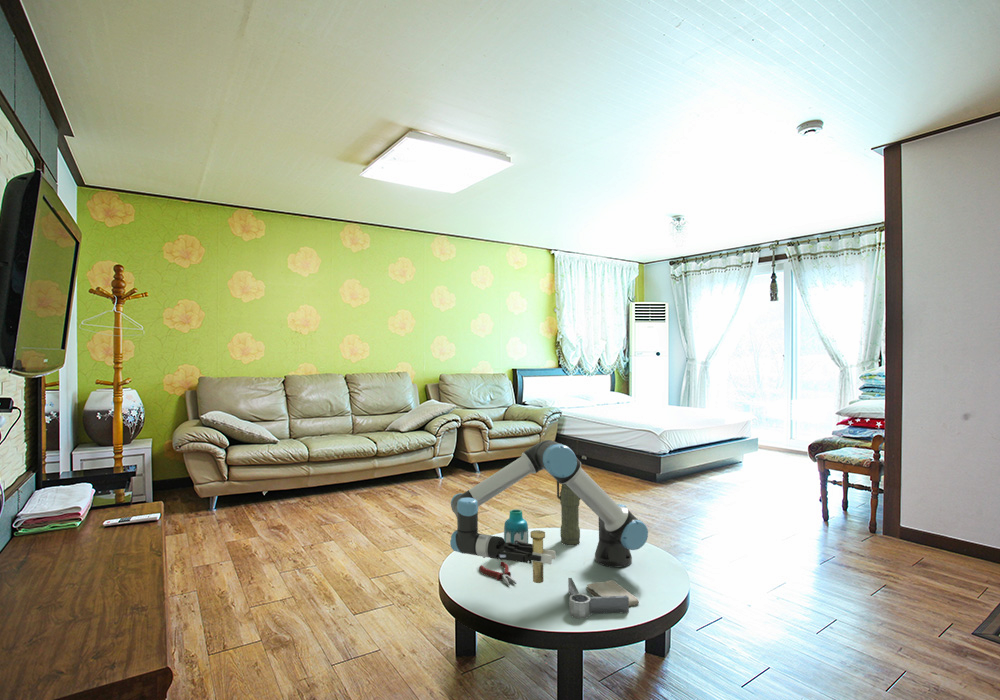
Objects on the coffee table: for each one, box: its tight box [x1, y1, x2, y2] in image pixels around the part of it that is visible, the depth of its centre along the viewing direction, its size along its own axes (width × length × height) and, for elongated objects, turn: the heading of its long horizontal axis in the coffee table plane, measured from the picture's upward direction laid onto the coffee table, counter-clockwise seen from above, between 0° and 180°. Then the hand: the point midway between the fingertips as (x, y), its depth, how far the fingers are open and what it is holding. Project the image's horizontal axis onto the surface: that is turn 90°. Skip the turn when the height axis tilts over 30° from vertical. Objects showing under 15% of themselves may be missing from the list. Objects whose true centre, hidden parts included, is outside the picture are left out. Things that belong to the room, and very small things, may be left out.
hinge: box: [567, 577, 630, 620], centre depth 178 cm, size 20×20×5 cm
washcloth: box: [586, 579, 640, 607], centre depth 184 cm, size 12×18×3 cm, turn 21°
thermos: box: [556, 480, 581, 546], centre depth 239 cm, size 9×12×35 cm
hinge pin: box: [529, 529, 546, 584], centre depth 176 cm, size 5×5×16 cm
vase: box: [503, 508, 529, 543], centre depth 223 cm, size 11×11×19 cm
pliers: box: [478, 561, 517, 587], centre depth 201 cm, size 12×20×3 cm, turn 25°
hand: (552, 557), depth 174 cm, fingers closed on hinge pin, 3 cm apart
